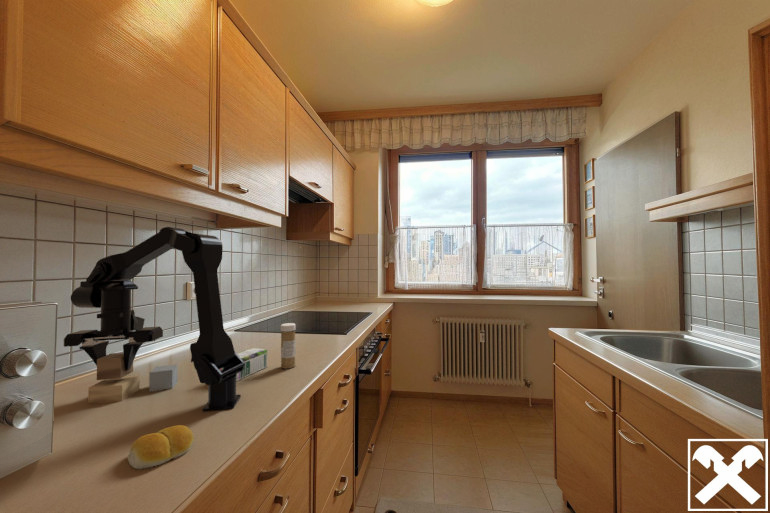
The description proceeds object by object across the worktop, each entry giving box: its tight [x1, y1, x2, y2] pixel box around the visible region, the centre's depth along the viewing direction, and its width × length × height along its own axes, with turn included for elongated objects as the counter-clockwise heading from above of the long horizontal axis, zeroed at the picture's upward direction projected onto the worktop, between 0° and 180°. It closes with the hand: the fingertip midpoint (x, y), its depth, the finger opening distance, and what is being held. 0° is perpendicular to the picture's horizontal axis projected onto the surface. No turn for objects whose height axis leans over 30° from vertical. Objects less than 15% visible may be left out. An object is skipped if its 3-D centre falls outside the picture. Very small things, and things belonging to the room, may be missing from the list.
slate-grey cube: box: [148, 363, 178, 393], centre depth 82 cm, size 5×5×5 cm
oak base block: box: [87, 374, 141, 405], centre depth 77 cm, size 7×7×4 cm
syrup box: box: [219, 347, 268, 382], centre depth 91 cm, size 6×6×14 cm
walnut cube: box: [96, 352, 134, 381], centre depth 77 cm, size 5×5×5 cm
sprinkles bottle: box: [280, 322, 296, 369], centre depth 97 cm, size 5×5×13 cm
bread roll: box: [127, 424, 194, 470], centre depth 53 cm, size 8×9×4 cm
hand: (115, 370), depth 77 cm, fingers closed on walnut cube, 5 cm apart
